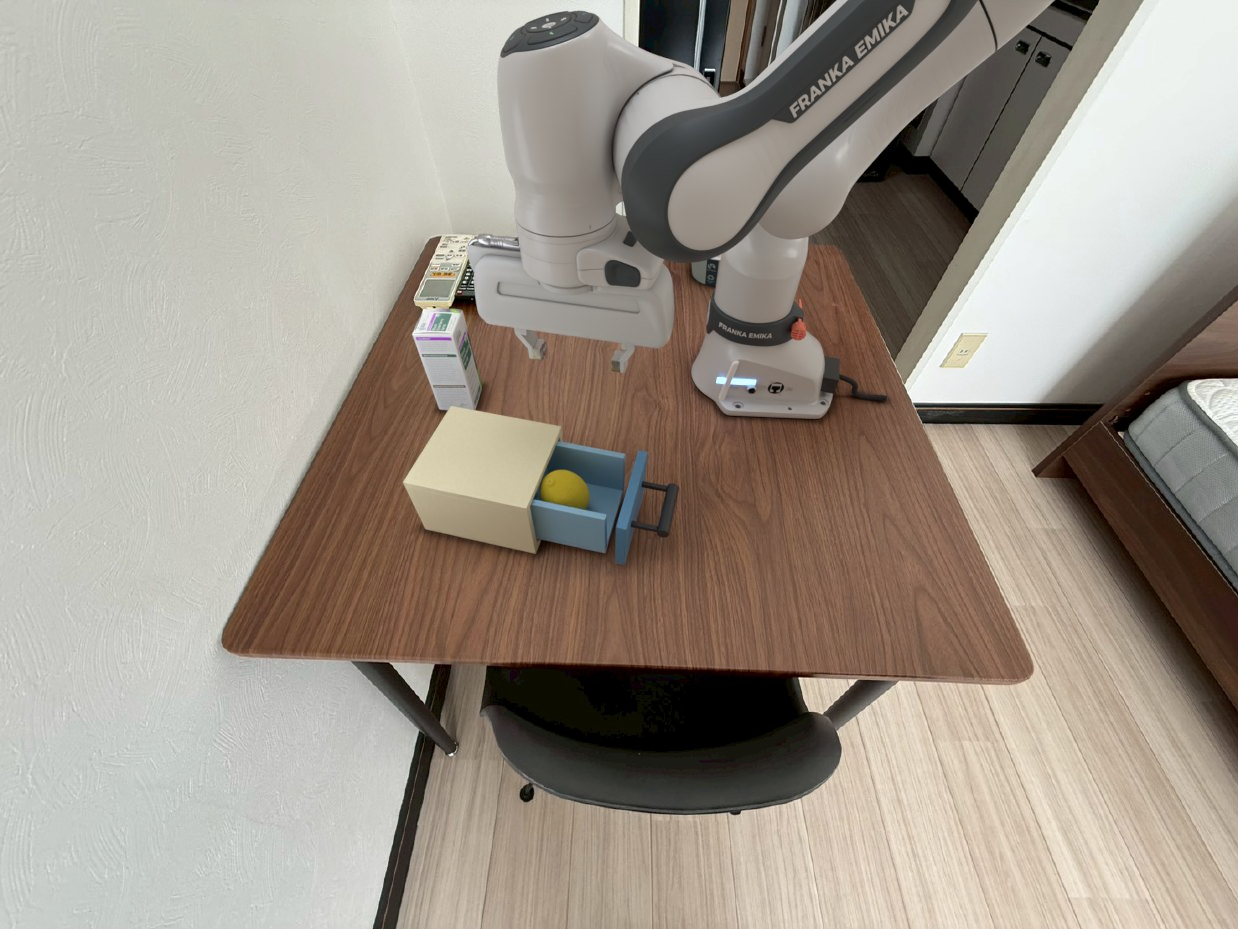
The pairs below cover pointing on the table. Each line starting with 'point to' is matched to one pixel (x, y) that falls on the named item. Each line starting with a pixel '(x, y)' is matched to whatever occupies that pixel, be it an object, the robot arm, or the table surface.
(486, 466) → the cream drawer cabinet
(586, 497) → the lemon
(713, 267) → the food container
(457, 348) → the syrup box
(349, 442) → the table surface
